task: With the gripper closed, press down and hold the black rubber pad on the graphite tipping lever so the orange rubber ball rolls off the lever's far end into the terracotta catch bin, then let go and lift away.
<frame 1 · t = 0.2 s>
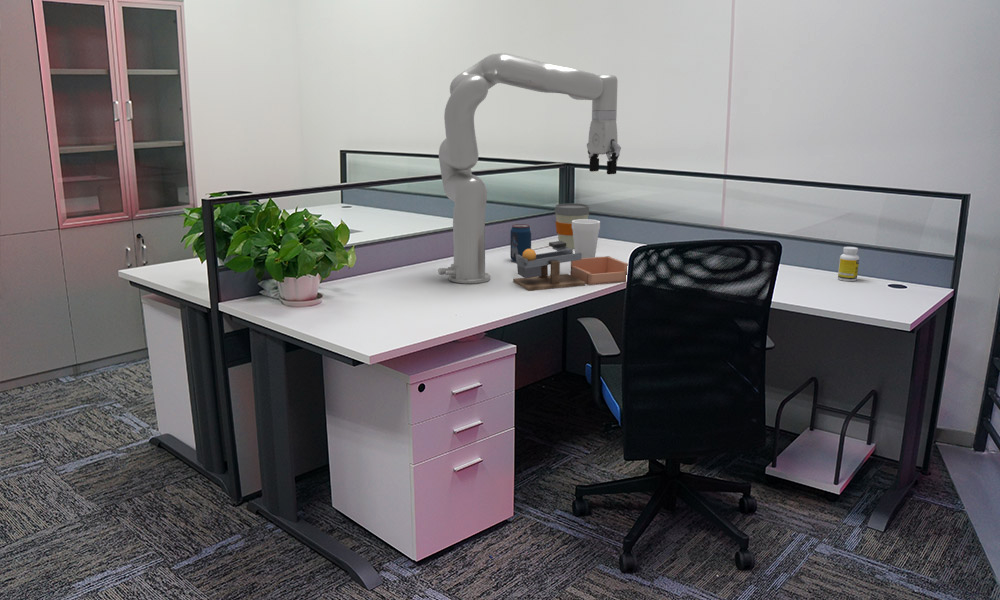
hand: (602, 172, 258), 31 cm above the table, tool pointing down, fingers open, 9 cm apart
ball: (529, 255, 241), point 9 cm above the table, tilted 19°, touching lever
lever stand: (548, 283, 245), on the table
catch bin: (598, 279, 251), on the table
reusable coffee cup: (571, 247, 302), on the table
supplement bottle: (847, 280, 250), on the table
foam cup: (585, 260, 280), on the table
lever: (544, 259, 247), point 7 cm above the table, hinge at -4.0°, touching ball
soda can: (520, 261, 278), on the table
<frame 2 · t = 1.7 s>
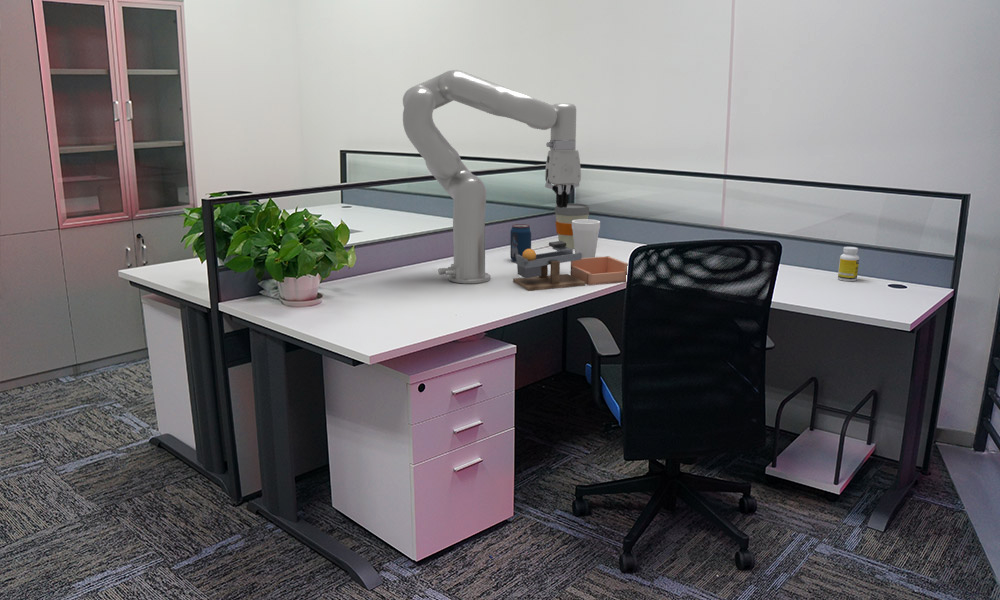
hand: (562, 206, 252), 21 cm above the table, tool pointing down, fingers closed
nothing on the table moved.
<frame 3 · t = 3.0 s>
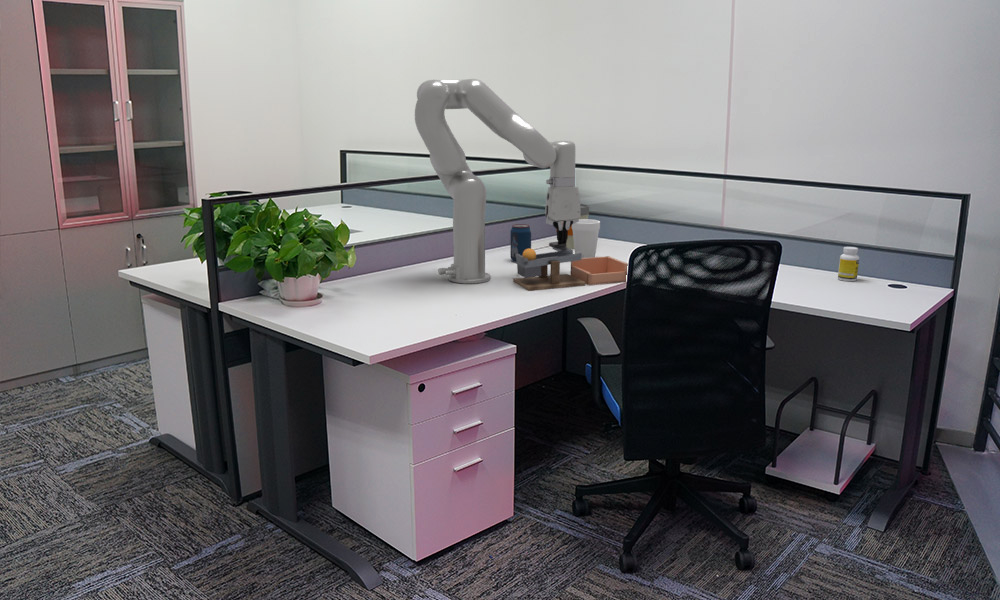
hand: (562, 242, 255), 10 cm above the table, tool pointing down, fingers closed
lever: (544, 259, 247), point 7 cm above the table, hinge at -3.2°, touching ball, gripper
everything else where it was.
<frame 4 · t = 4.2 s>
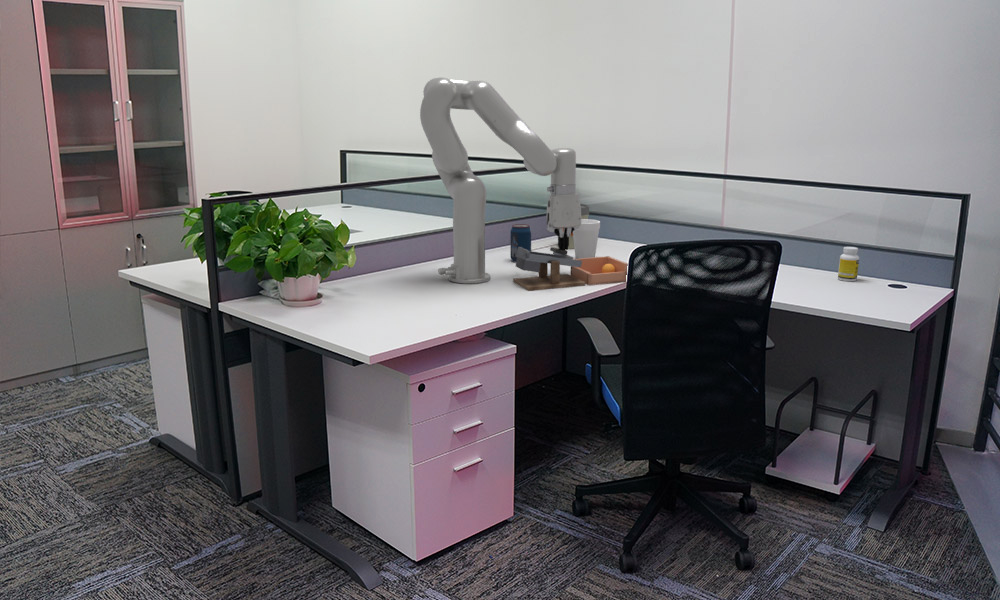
hand: (563, 249, 255), 8 cm above the table, tool pointing down, fingers closed
ball: (608, 270, 251), point 2 cm above the table, tilted 57°, touching catch bin
lever: (543, 259, 247), point 7 cm above the table, hinge at 11.2°, touching gripper
everything else where it was.
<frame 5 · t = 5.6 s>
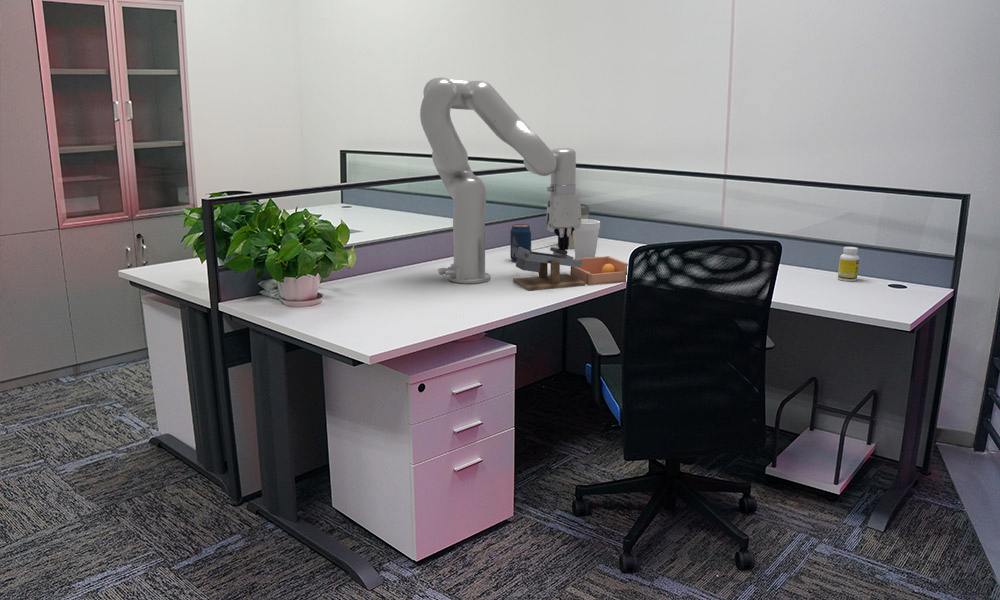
hand: (563, 249, 255), 8 cm above the table, tool pointing down, fingers closed
nothing on the table moved.
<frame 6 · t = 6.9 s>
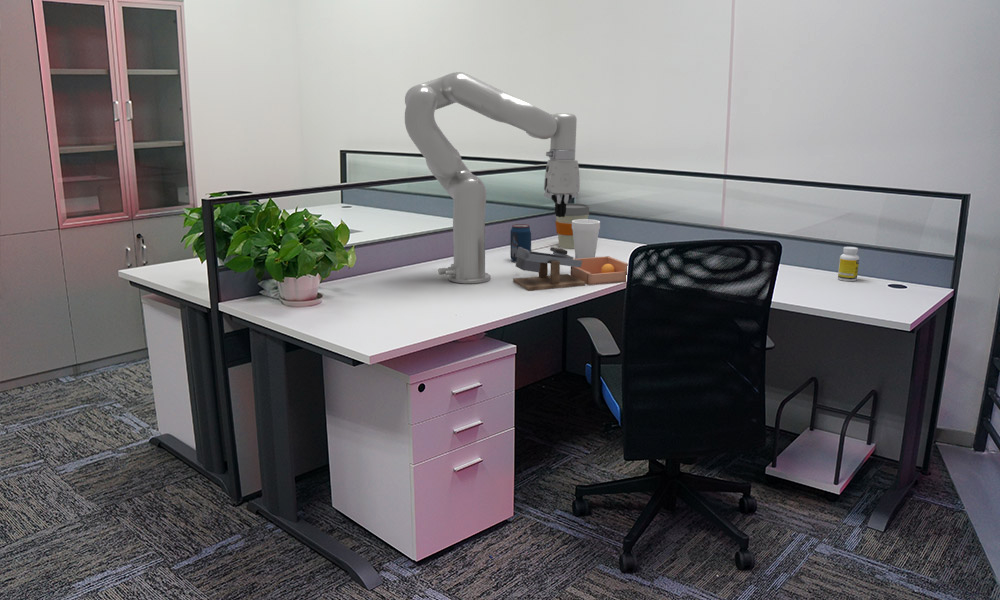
hand: (560, 216, 253), 18 cm above the table, tool pointing down, fingers closed
ball: (607, 270, 251), point 2 cm above the table, tilted 51°, touching catch bin
lever: (543, 259, 247), point 7 cm above the table, hinge at 11.2°
everything else where it was.
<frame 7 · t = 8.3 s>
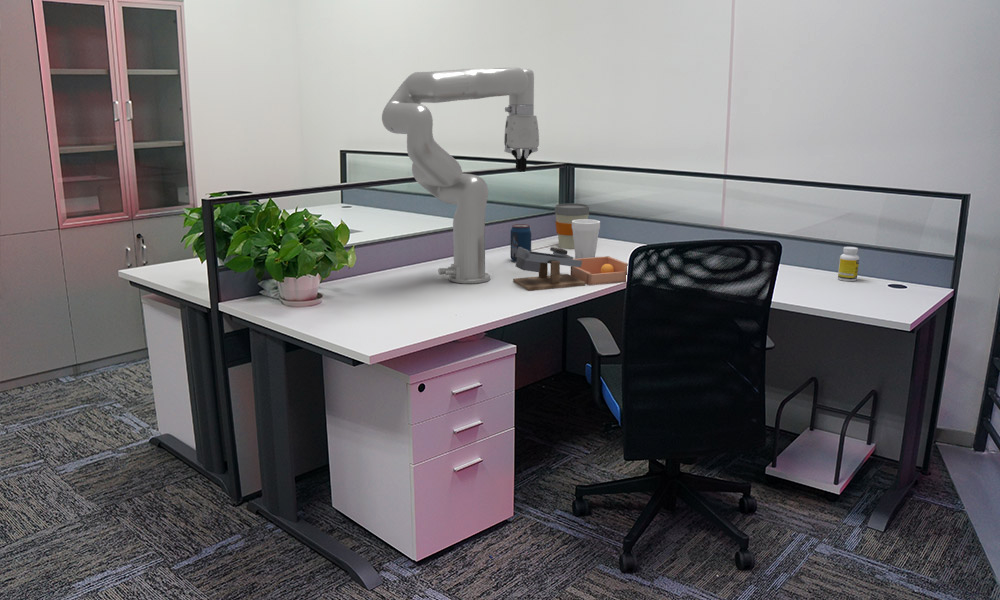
hand: (521, 171, 257), 31 cm above the table, tool pointing down, fingers closed
ball: (607, 270, 251), point 2 cm above the table, tilted 46°, touching catch bin
everything else where it was.
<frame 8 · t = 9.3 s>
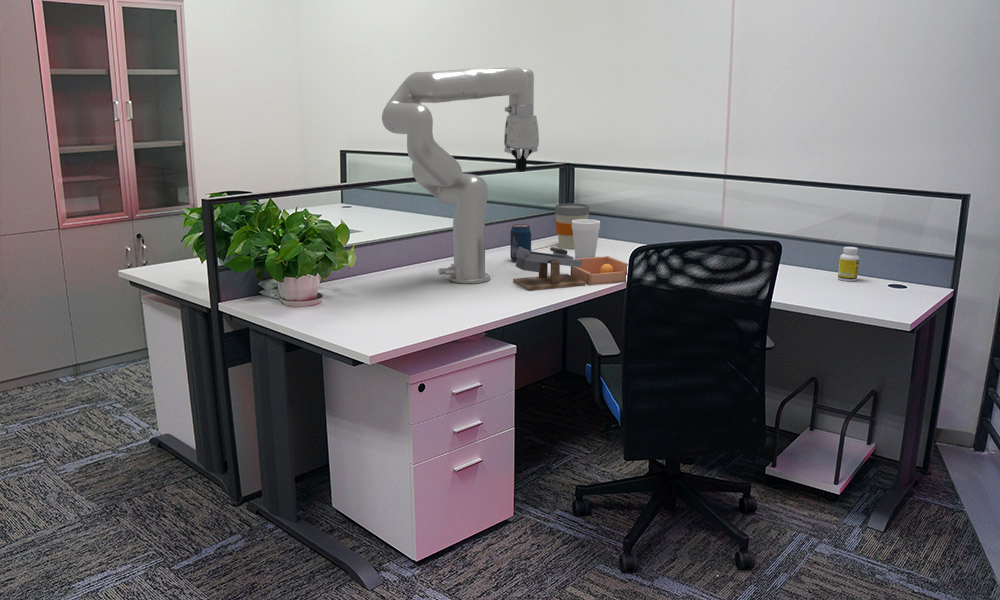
hand: (521, 171, 257), 31 cm above the table, tool pointing down, fingers closed
nothing on the table moved.
at the end: ball inside the target area on the catch bin (2.8 cm from its centre), point 2.5 cm above the catch bin's base; ball moved 25.8 cm from its start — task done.
